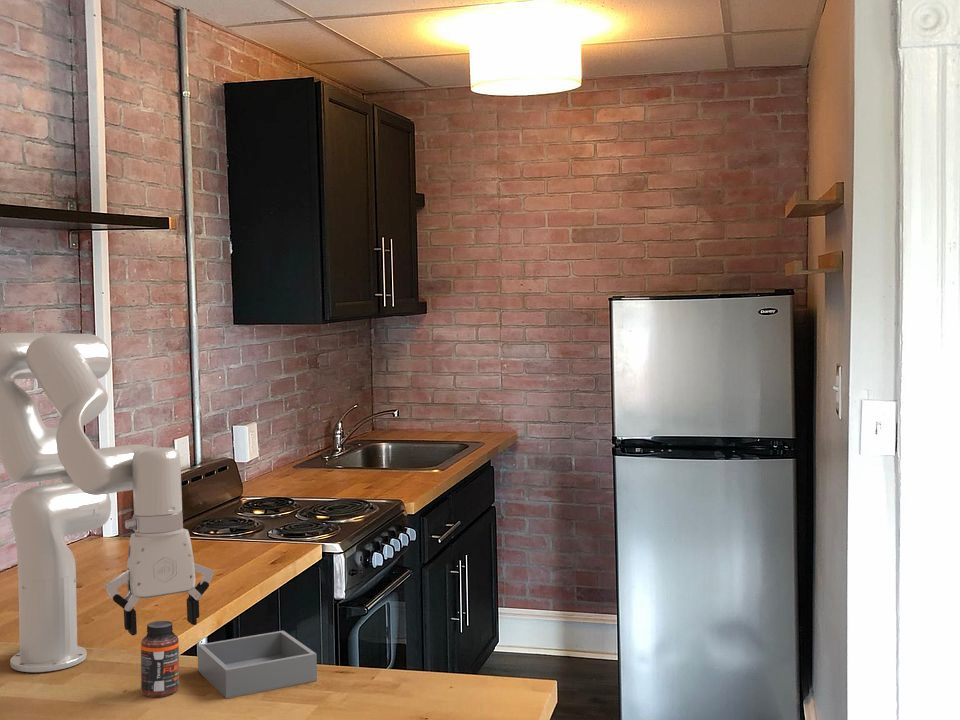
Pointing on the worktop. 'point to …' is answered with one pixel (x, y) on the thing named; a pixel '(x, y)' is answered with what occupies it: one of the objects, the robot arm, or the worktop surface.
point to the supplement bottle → (159, 660)
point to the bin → (256, 663)
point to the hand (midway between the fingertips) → (162, 628)
